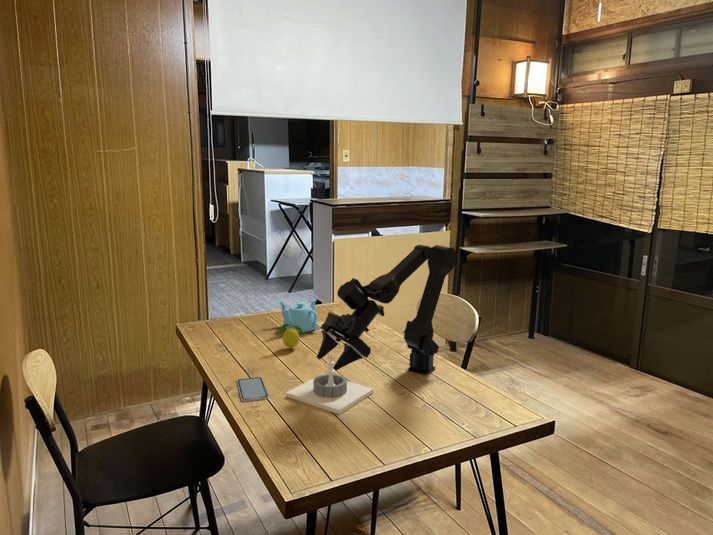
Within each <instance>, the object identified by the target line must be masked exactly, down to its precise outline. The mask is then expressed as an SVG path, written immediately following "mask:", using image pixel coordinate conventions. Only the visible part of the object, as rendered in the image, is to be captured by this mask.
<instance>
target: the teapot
mask: <svg viewBox="0 0 713 535" xmlns="http://www.w3.org/2000/svg"><path fill="white" fill-rule="evenodd" d="M317 300H318V298H314V299H313V300H312V301H311V303H310V305H308V304H307V305H306V304H305V303H304V302H297V303H296V305H295V304H294V305H292V306H290V307H289V309H287V306H286V304H285V302H284V301H281V300H278V303H280V306H281V314H282V318H283V324H282V325H284V324H289V325H288V326H287V327H286V328H285V330H287V329H288V328H290V327H292V328H294V327H293V326H299V327H300V328H301V329H302V332H303V333H304V334H305V333H309V332H313V331H314V330H315V329H319V322H318V313H317V311H316V302H317ZM290 323H291V324H290ZM291 325H292V326H291ZM297 331H298V330H297ZM303 333H301V332H299V331H298V334H303Z"/></svg>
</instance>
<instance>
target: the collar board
mask: <svg viewBox="0 0 713 535" xmlns="http://www.w3.org/2000/svg"><path fill="white" fill-rule="evenodd" d="M328 379H329V373H325V374H324V373H322V374H320V375H318V376H316V377H314V378H312V379H310V380H308V381H306V382H304V383H302V384H299V385H298V386H297V387H294V388H292V389H290V390H288V391H286V393H285V394H286V395H285V396H286V397H287V398H289V399H293V400H295V401H298V402H301V403H305V404H307V405H310V406H314V407H316V408H319V409H323V410H325V411H328V412H331V413H334V414H337V415H341V414H343V413H344V412H345V411H347V410H349V409H350V408H352V407H354V406H355V405H357V404H358V403H360V402H361V401H363V400H365V399H367V398H368V397H369V396H371V395H372V394H374V388H372V387H369V386H365V385H362V384H358V383H355V382H351V381H348V379H347V378H346V377H345V376H344V375H341V374H338V373H337V374H336V373H333V381H334V384H335V385H334V386H326V385H327V384H328Z"/></svg>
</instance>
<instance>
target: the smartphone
mask: <svg viewBox="0 0 713 535" xmlns="http://www.w3.org/2000/svg"><path fill="white" fill-rule="evenodd" d="M236 384H237V388H238V391H239V395H240V401H241V402H244V403H248V402H255V401H261V400H268V399H269V398H270V396H269V392H268V391H267V388H266V385H265V382H264V379H263V377H260V376H256V377H245V378H239V379H236Z"/></svg>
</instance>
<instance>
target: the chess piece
mask: <svg viewBox="0 0 713 535" xmlns="http://www.w3.org/2000/svg"><path fill="white" fill-rule="evenodd" d="M327 360H329V361H328V362H327V366H328V369H327V370H326V373H327V374H329V379H328V384H327V385H326V386H334V385H335V384H334V381H333V374H334V373H335V371H336V370H334V369H333V367H334V365H335V364H336V362H334V360H335V357H333V355H329V357H327Z"/></svg>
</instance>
